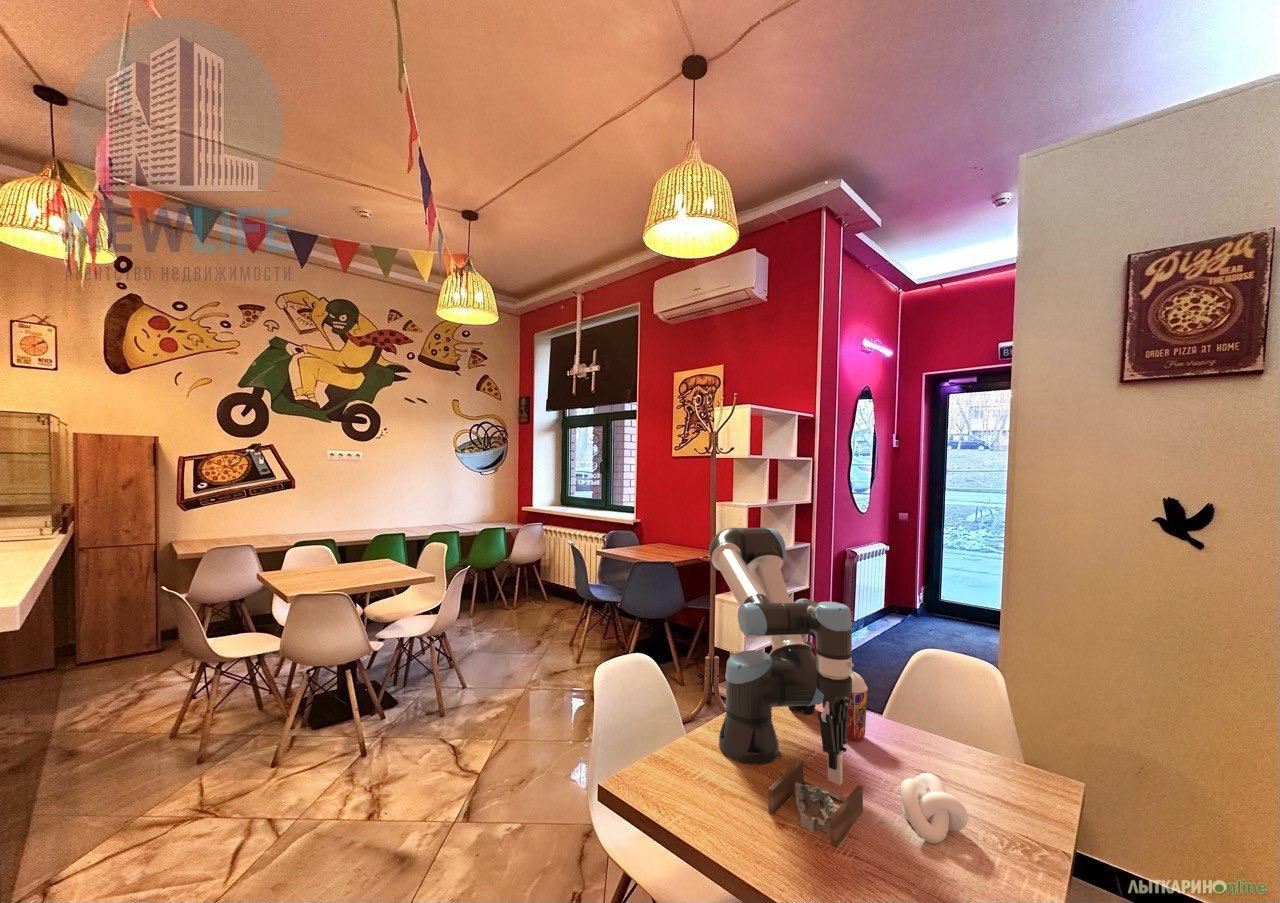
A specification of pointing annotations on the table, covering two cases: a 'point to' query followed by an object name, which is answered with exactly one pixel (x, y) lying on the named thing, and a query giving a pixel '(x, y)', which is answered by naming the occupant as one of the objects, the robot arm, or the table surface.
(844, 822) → the brown u-shaped frame
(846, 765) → the table surface
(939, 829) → the white knot sculpture
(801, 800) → the egg carton
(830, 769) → the robot arm
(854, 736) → the smoothie
